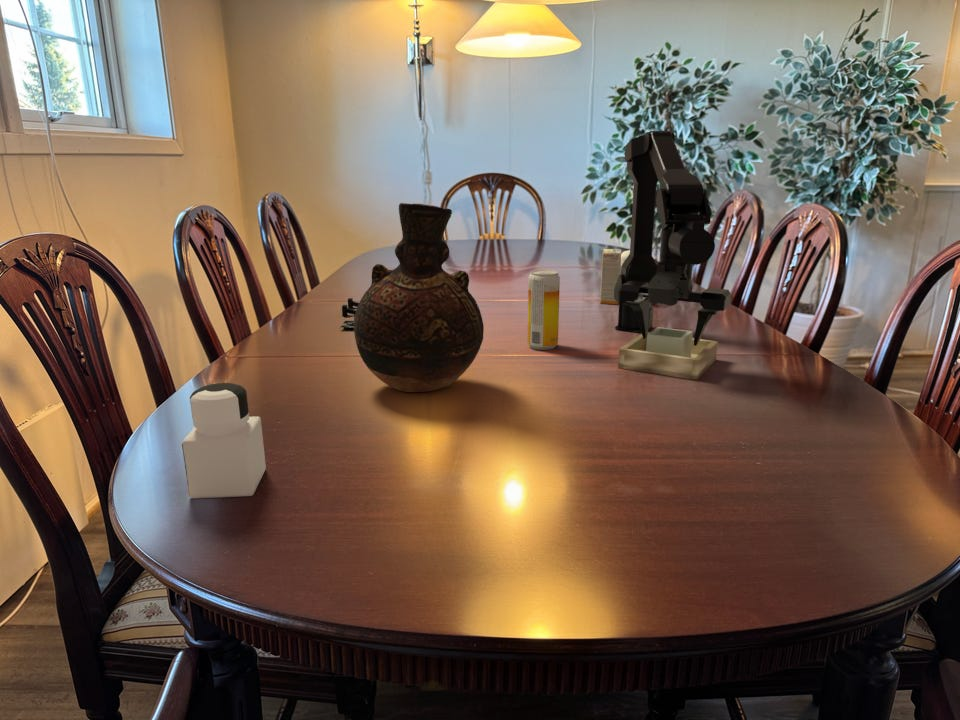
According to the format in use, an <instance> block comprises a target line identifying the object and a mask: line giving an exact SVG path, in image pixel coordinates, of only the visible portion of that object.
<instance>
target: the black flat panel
mask: <svg viewBox="0 0 960 720" xmlns="http://www.w3.org/2000/svg"><path fill="white" fill-rule="evenodd" d="M358 304H359V302H357V301H354V300H353V297H349V298H348V299H347V304H343V305H341V315H342V316H341V317H342V318H343V317H344V318H346V317H347V316H348V314H350V315H354V317H353V319H354V318H355V313H356V310H357V309H353V308H354V307H356V308H357V307H358ZM340 328H353V329H354V320H344V322H343V323H342V324H341V326H340Z"/></svg>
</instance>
